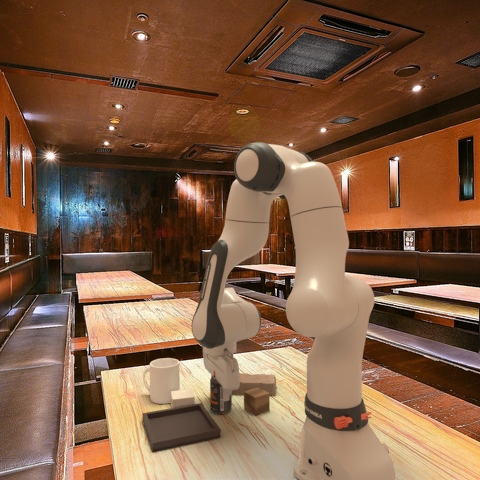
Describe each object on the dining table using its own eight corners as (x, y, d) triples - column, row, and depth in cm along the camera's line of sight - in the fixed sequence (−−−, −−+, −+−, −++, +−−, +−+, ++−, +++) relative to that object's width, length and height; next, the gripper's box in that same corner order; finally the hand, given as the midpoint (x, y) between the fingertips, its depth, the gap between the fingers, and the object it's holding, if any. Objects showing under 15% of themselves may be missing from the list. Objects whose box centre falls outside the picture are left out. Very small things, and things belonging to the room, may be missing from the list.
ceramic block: (194, 411, 106) (194, 397, 106) (172, 414, 105) (172, 399, 105) (192, 402, 112) (191, 388, 112) (171, 405, 111) (170, 391, 111)
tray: (220, 437, 92) (220, 429, 92) (152, 452, 86) (152, 443, 86) (201, 410, 107) (201, 402, 107) (142, 420, 101) (142, 413, 101)
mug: (152, 389, 122) (151, 355, 122) (185, 395, 117) (184, 359, 117) (134, 400, 114) (134, 363, 114) (169, 406, 109) (168, 368, 109)
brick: (276, 386, 124) (275, 372, 124) (276, 397, 115) (275, 381, 115) (224, 385, 125) (224, 371, 125) (221, 396, 117) (221, 380, 117)
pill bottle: (207, 407, 108) (206, 367, 108) (226, 403, 111) (226, 364, 111) (215, 416, 103) (214, 374, 103) (235, 412, 105) (234, 370, 105)
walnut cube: (269, 411, 106) (269, 392, 106) (255, 416, 103) (255, 397, 103) (257, 404, 110) (257, 387, 110) (244, 409, 107) (243, 391, 107)
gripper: (245, 353, 98) (246, 408, 98) (219, 335, 117) (219, 380, 117) (222, 357, 96) (222, 412, 96) (199, 337, 115) (199, 384, 115)
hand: (220, 394), depth 107 cm, fingers closed on pill bottle, 6 cm apart
